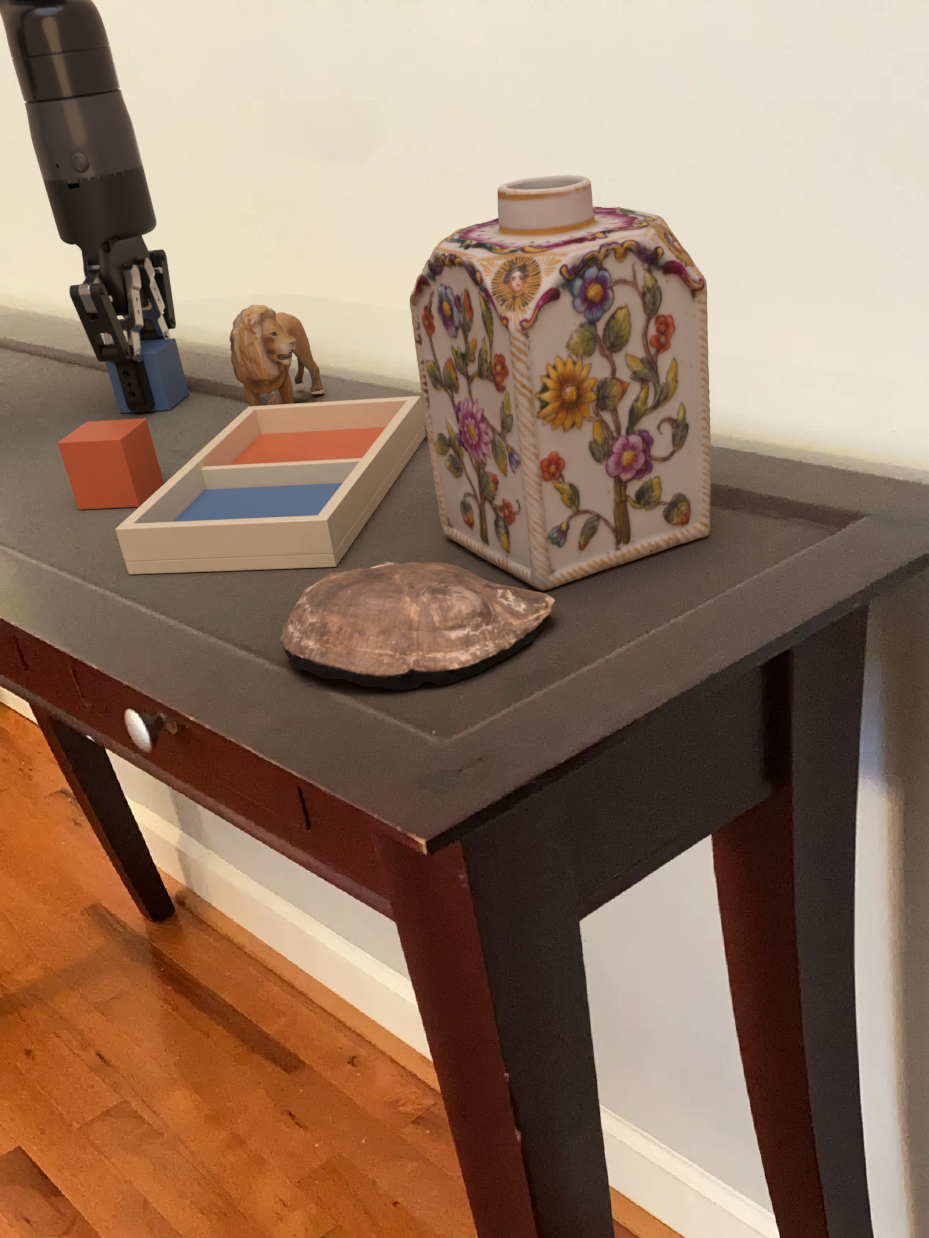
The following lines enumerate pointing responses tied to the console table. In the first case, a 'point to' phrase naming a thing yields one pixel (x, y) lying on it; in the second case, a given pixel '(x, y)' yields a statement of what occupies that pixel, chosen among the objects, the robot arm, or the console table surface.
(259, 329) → the lion figurine
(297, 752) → the console table surface
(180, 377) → the blue block
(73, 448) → the terracotta block
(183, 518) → the sorting tray
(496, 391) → the decorative jar
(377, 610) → the shell
